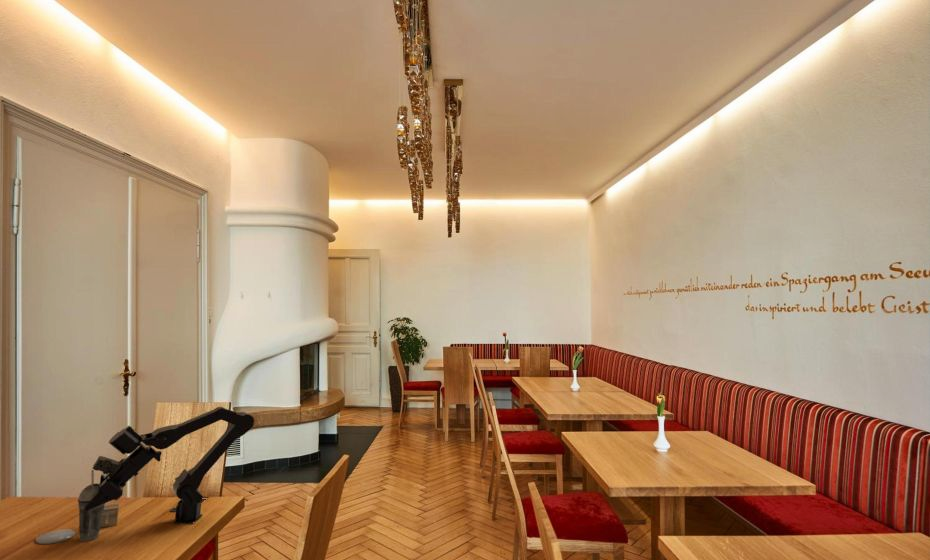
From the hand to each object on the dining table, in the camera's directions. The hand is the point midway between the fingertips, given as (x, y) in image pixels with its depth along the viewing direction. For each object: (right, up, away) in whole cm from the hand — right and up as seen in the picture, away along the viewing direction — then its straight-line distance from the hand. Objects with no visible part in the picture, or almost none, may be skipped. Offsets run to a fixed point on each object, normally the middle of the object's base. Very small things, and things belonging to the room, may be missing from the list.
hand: (86, 505), depth 148 cm
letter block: (-2, -11, +10) cm, 15 cm away
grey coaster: (-9, -9, -1) cm, 13 cm away
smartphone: (+15, -13, +29) cm, 35 cm away
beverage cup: (+1, -10, 0) cm, 10 cm away
